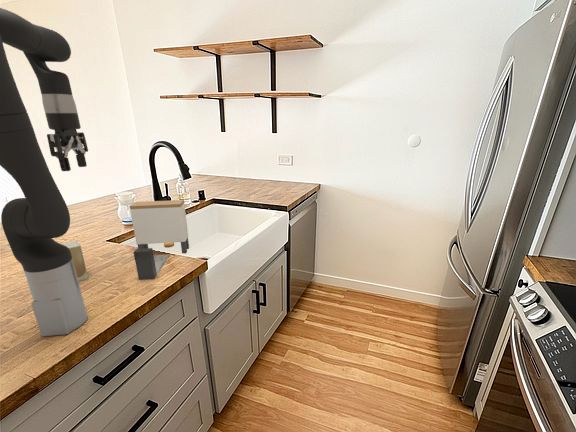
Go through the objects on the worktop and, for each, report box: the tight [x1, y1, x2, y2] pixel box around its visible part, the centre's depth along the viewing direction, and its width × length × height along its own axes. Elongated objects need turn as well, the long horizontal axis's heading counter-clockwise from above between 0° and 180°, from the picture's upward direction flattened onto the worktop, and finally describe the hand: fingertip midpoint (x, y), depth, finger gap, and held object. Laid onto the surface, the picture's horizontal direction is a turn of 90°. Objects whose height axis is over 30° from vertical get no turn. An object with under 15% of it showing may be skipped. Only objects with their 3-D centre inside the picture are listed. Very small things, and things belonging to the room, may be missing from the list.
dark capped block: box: [133, 247, 169, 281], centre depth 103 cm, size 16×5×10 cm, turn 7°
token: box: [163, 242, 175, 248], centre depth 123 cm, size 4×4×1 cm
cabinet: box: [129, 199, 190, 254], centre depth 114 cm, size 6×18×20 cm, turn 97°
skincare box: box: [61, 239, 89, 283], centre depth 96 cm, size 6×4×12 cm
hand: (75, 168), depth 89 cm, fingers open, 8 cm apart
